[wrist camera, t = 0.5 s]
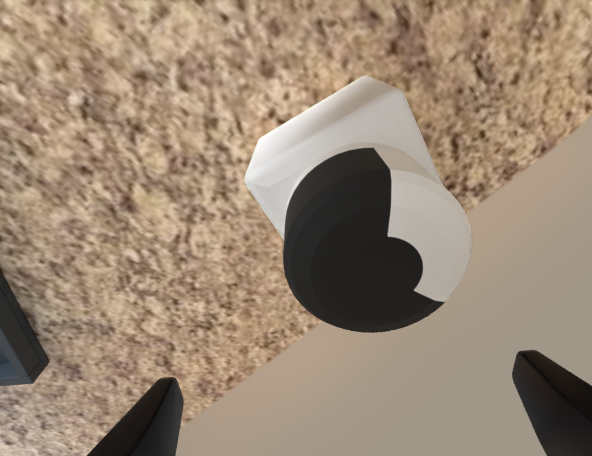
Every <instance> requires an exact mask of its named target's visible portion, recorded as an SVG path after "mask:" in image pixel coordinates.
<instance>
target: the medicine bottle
mask: <svg viewBox="0 0 592 456" xmlns="http://www.w3.org/2000/svg"><path fill="white" fill-rule="evenodd" d="M244 181H245V184H246V186H247V187H248V189H249V190H250V192H251V193H252V194H253V196H254V197H255V199H256V200H257V202H258V203H259V205H260V206H261V208H262V209H263V211H264V212H265V213H266V215H267V216H268V218H269V219H270V221H271V222H272V224H273V225H274V227H275V228H276V230H277V231H278V233H279V234H280V235H281V237H282V238H283V240H284V252H283V262H284V271H285V276H286V279H287V282H288V284H289V287H290V289H291V291H292V292H293V294H294V296H295V297H296V298H297V300H298V301H299V302H300V304H301V305H302V306H303V307H304V308H305V309H307V310H308V311H309V312H310V313H311V314H313V315H314V316H316V317H317V318H319V319H321V320H322V321H324V322H326V323H328V324H331V325H334V326H336V327H339V328H342V329H346V330H351V331H357V332H371V333H372V332H373V333H375V332H385V331H390V330H396V329H399V328H403V327H406V326H409V325H411V324H413V323H416V322H418V321H420V320H422V319H423V318H425V317H427V316H429V315H430V314H431V313H433V312H434V311H436V310H437V309H438V308H439V307H440V306H441V305H443V304H444V303H445V302H446V301H447V299H448V298H449V297H450V296H451V295H452V294H453V292H454V291H455V290H456V288H457V287H458V285H459V284H460V282H461V280H462V279H463V277H464V275H465V273H466V271H467V268H468V265H469V261H470V257H471V251H472V234H471V228H470V224H469V221H468V218H467V215H466V213H465V212H464V210H463V208H462V206H461V205H460V203H459V202H458V201H457V200H456V198H455V197H454V196H453V195H452V194H451V193H450V192H449V191H448V190H447V189H446V188H445V187H444V186H443V184H442V181H441V179H440V177H439V174H438V172H437V170H436V167H435V165H434V163H433V160H432V158H431V156H430V153H429V151H428V149H427V146H426V144H425V141H424V139H423V137H422V134H421V132H420V130H419V127H418V125H417V123H416V120H415V118H414V116H413V113H412V111H411V109H410V106H409V104H408V102H407V99H406V97H405V95H404V93H403V92H402V90H401V89H398V88H396V87H394V86H391V85H389V84H387V83H384V82H382V81H380V80H377V79H375V78H373V77H370V76H367V75H365V76H362V77H360V78H359V79H357V80H355V81H354V82H352V83H350V84H349V85H347V86H345V87H344V88H342V89H340V90H339V91H337V92H335V93H334V94H332V95H330V96H329V97H327V98H325V99H324V100H322V101H320V102H319V103H317V104H315V105H314V106H312V107H311V108H309V109H307V110H306V111H304V112H302V113H301V114H299V115H297V116H296V117H294V118H292V119H291V120H289V121H287V122H286V123H284V124H282V125H281V126H279V127H277V128H276V129H274V130H272V131H271V132H269V133H267V134H266V135H264V136H262V137H261V138H260V139H259V140H258V143H257V146H256V148H255V151H254V153H253V156H252V159H251V161H250V164H249V167H248V169H247V172H246V175H245V179H244Z"/></svg>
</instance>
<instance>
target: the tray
mask: <svg viewBox="0 0 592 456" xmlns="http://www.w3.org/2000/svg"><path fill="white" fill-rule="evenodd" d="M48 363H49V360H48V358H47V356H46V355H45V353H44V351H43V349H42V347H41V345H40V343H39V342H38V340H37V338H36V336H35V334H34V332H33V331H32V329H31V327H30V325H29V323H28V321H27V319H26V318H25V316H24V314H23V312H22V310H21V308H20V306H19V305H18V303H17V301H16V299H15V297H14V295H13V293H12V292H11V290H10V288H9V286H8V284H7V282H6V280H5V279H4V277H3V275H2V273H1V271H0V386H6V385H20V384H33V383H34V381H35V380H36V379H37V378H38V376H39V375H40V374H41V372H42V371H43V370H44V369H45V367H46V366H47V365H48Z"/></svg>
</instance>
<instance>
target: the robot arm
mask: <svg viewBox="0 0 592 456" xmlns="http://www.w3.org/2000/svg"><path fill="white" fill-rule="evenodd" d="M512 377H513V382H514V384H515V387H516V389H517V391H518V393H519V396H520V398H521V400H522V403H523V405H524V407H525V409H526V412H527V414H528V416H529V419H530V421H531V423H532V426H533V428H534V430H535V433H536V435H537V437H538V439H539V441H540V443H541V445H542V447H543V449H544V451H545V453H546V454H547V456H592V386H591V385H590V384H588V383H586V382H585V381H583V380H582V379H580V378H579V377H577V376H575V375H574V374H572V373H571V372H569V371H568V370H566V369H565V368H563V367H561V366H560V365H558V364H557V363H555V362H554V361H552V360H551V359H549V358H547V357H546V356H544V355H543V354H541V353H540V352H538V351H535V350H527V351H519V352H518V353H517V355H516V359H515V363H514V368H513V372H512ZM183 403H184V402H183V396H182V393H181V390H180V387H179V384H178V382H177V379H176V378H175V377H166V378H160V379H159V380H157V381H156V382H155V384H154V385H153V386H152V387H151V388H150V389H149V390H148V391H147V392H146V393H145V394H144V395H143V396H142V397H141V398H140V400H139V401H138V402H137V403H136V404H135V405H134V406H133V407H132V408H131V409H130V410H129V411H128V412H127V413H126V414H125V416H124V417H123V418H122V419H121V420H120V421H119V422H118V423H117V424H116V425H115V426H114V427H113V428H112V429H111V430H110V432H109V433H108V434H107V435H106V436H105V437H104V438H103V439H102V440H101V441H100V442H99V443H98V444H97V445H96V446H95V448H94V449H93V450H92V451H91V452H90V453H89V454H88V455H87V456H175V454H176V448H177V442H178V436H179V430H180V424H181V418H182V411H183Z"/></svg>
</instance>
